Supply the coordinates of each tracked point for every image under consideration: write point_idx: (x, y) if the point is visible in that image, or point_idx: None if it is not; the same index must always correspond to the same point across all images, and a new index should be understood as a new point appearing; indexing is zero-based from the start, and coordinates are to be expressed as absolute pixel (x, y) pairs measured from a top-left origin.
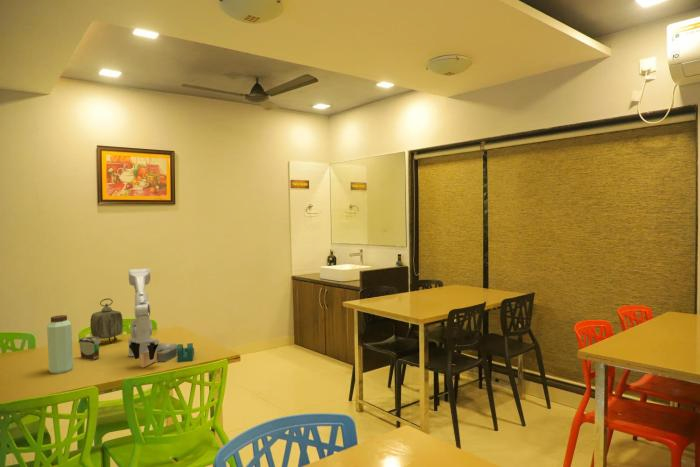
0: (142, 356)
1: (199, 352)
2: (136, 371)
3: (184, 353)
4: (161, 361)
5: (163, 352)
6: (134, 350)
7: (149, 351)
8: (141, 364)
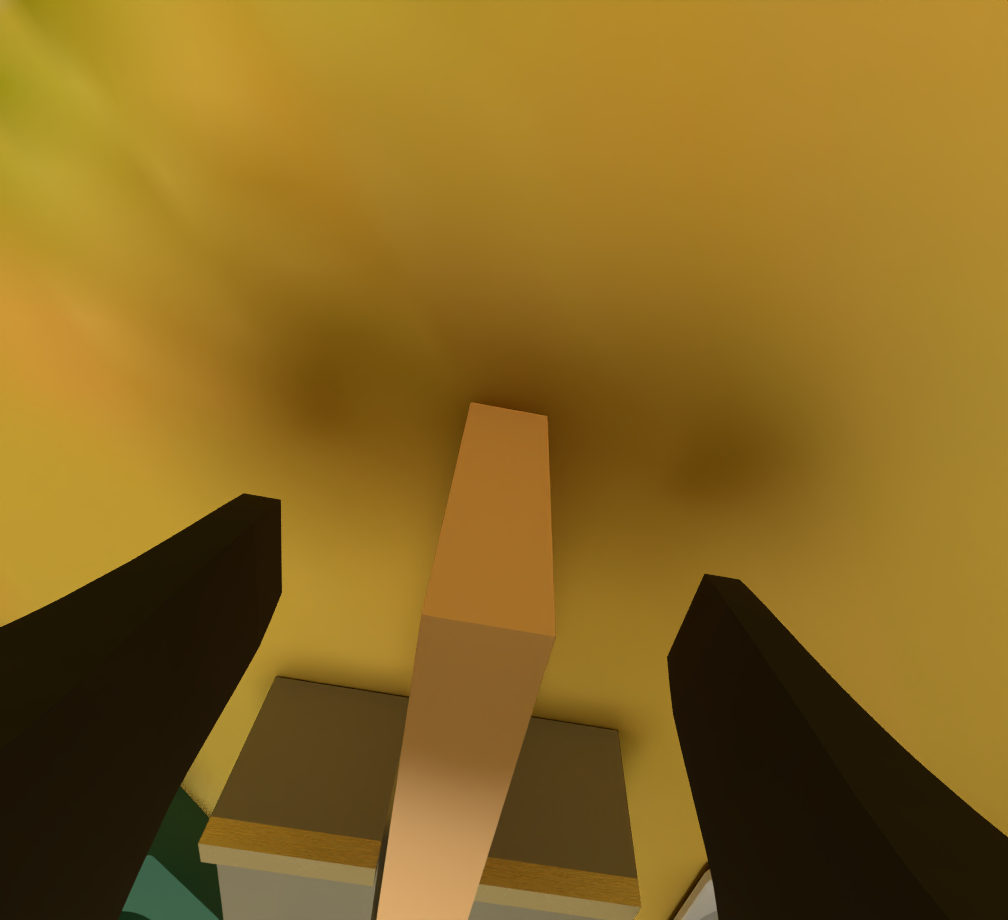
0: (470, 565)
1: None
2: (550, 175)
3: None
4: (336, 692)
5: (224, 847)
6: (857, 817)
7: (44, 666)
8: (526, 441)
